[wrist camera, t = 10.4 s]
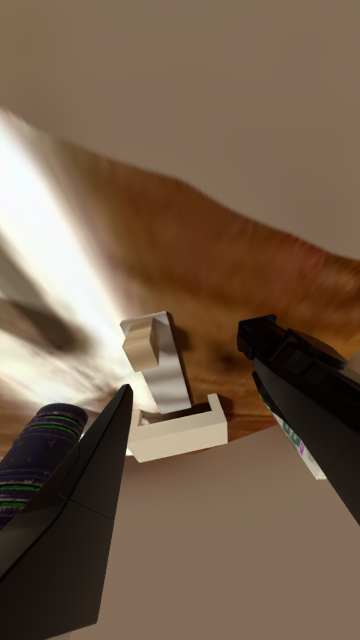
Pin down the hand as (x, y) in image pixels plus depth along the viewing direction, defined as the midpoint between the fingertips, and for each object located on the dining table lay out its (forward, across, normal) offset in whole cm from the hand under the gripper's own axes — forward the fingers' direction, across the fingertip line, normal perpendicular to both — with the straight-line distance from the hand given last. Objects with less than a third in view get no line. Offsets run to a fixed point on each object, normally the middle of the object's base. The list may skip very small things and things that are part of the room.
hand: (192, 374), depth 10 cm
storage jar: (+13, +29, +20) cm, 38 cm away
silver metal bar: (+13, +5, +12) cm, 19 cm away
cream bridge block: (+13, +5, +28) cm, 31 cm away
